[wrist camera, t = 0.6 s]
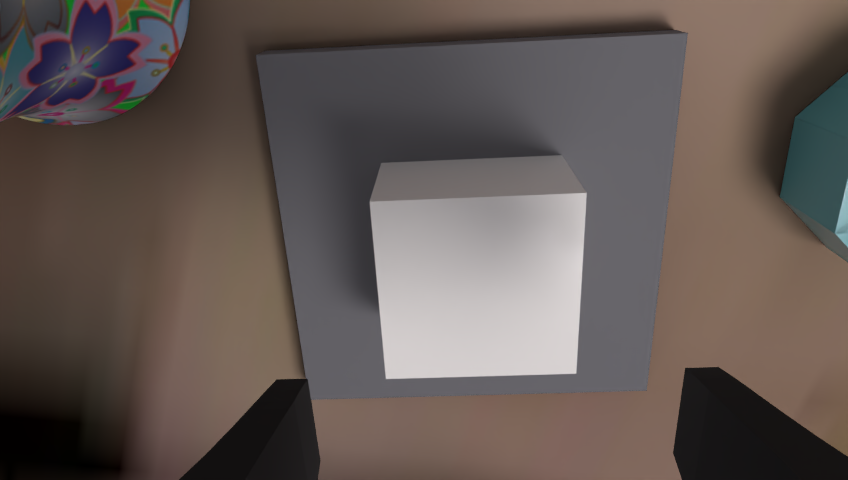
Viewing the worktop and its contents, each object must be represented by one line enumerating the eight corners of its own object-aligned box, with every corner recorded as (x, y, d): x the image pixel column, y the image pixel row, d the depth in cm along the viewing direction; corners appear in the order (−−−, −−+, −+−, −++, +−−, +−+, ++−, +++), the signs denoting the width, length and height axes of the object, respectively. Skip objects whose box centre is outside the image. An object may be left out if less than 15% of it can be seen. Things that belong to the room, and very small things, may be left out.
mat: (638, 373, 23) (646, 390, 22) (314, 382, 23) (309, 399, 22) (674, 29, 18) (687, 33, 17) (264, 51, 18) (255, 55, 17)
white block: (555, 312, 20) (576, 373, 17) (394, 317, 21) (385, 379, 18) (561, 155, 18) (586, 193, 15) (381, 162, 19) (369, 201, 15)
